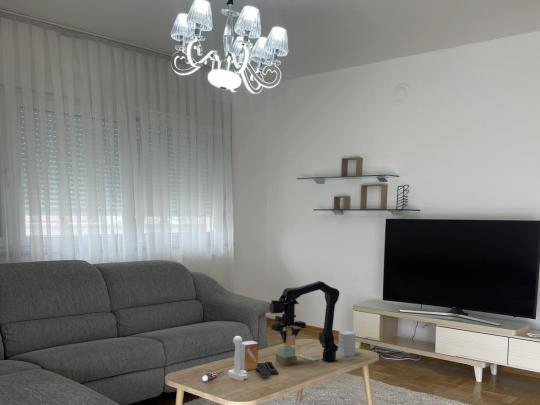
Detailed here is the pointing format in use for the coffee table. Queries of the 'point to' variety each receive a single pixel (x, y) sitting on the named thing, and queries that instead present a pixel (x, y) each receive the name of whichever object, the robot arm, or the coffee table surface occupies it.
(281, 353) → the sage top block
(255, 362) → the small box
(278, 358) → the walnut base block
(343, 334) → the supplement box
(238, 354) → the joystick
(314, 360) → the coffee table surface
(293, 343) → the terracotta cube
